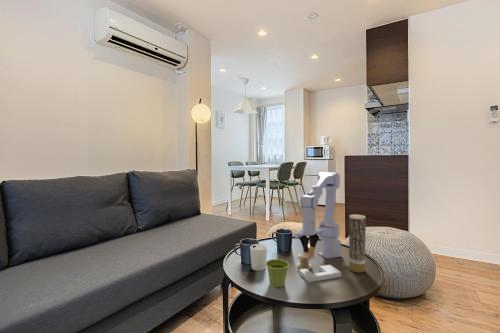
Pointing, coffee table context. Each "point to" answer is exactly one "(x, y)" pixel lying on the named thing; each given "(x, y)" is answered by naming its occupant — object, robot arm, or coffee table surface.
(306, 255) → the block
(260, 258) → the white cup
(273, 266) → the plant pot
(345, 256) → the coffee table surface
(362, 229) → the bark textured cylinder
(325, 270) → the board
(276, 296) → the coffee table surface
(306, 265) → the bobbin
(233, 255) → the coffee table surface
